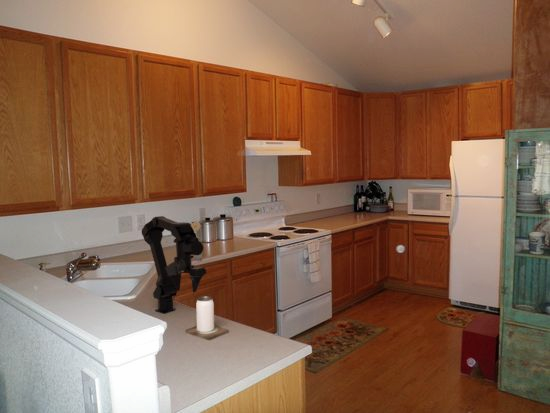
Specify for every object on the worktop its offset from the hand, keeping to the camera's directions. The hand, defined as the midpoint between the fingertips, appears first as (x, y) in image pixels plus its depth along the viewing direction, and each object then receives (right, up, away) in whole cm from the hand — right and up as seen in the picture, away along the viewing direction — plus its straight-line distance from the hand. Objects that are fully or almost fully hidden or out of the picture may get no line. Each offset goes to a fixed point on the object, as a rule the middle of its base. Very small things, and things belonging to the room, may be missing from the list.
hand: (186, 291), depth 182 cm
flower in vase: (-21, -1, +136) cm, 137 cm away
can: (+10, -12, -14) cm, 21 cm away
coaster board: (+11, -13, -13) cm, 21 cm away
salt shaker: (-16, -2, +121) cm, 122 cm away
